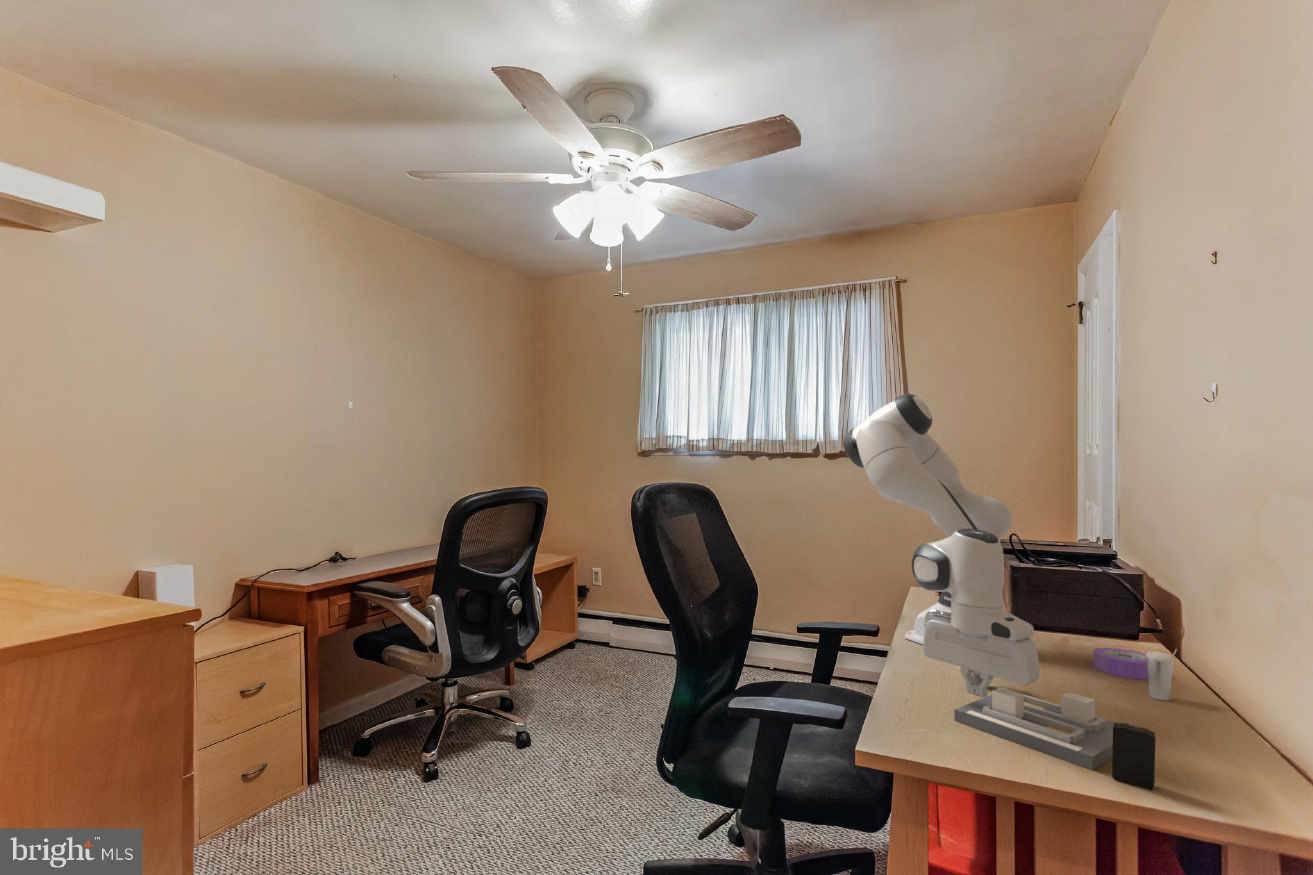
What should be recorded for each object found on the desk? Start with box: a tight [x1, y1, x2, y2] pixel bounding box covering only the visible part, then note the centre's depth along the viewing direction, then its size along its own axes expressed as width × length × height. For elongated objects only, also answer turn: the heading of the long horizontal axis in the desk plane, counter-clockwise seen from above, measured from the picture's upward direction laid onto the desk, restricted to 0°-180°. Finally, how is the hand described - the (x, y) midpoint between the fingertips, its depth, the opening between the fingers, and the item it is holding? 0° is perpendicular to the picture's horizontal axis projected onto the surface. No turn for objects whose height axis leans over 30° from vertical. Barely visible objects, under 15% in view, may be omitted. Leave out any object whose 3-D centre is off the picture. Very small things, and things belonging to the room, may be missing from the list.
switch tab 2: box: [1060, 692, 1096, 723], centre depth 111 cm, size 4×3×4 cm
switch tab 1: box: [991, 687, 1025, 719], centre depth 113 cm, size 4×3×4 cm
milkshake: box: [1145, 648, 1178, 701], centre depth 129 cm, size 4×5×10 cm
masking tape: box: [1093, 647, 1148, 680], centre depth 146 cm, size 12×12×4 cm
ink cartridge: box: [1111, 722, 1157, 791], centre depth 94 cm, size 5×2×8 cm, turn 50°
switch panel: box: [953, 694, 1114, 771], centre depth 112 cm, size 22×18×3 cm
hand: (976, 694), depth 117 cm, fingers closed
